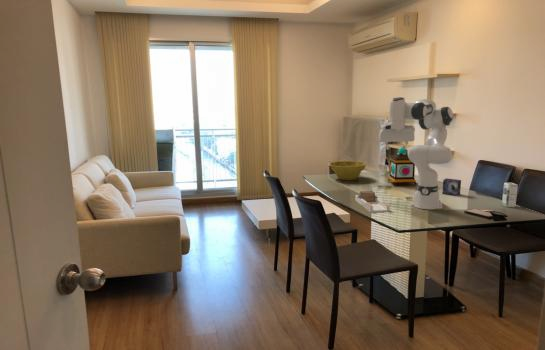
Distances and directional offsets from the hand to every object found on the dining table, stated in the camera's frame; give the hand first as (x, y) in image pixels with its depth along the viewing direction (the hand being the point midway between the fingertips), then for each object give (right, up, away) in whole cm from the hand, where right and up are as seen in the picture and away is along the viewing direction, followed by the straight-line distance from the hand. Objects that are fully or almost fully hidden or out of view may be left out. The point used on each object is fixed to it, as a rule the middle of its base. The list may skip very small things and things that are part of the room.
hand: (396, 149), depth 232 cm
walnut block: (-10, -32, +29) cm, 45 cm away
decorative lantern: (+30, -23, +82) cm, 90 cm away
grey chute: (-9, -35, +22) cm, 42 cm away
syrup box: (+75, -35, +14) cm, 84 cm away
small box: (+54, -29, +46) cm, 77 cm away
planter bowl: (-8, -19, +107) cm, 109 cm away
